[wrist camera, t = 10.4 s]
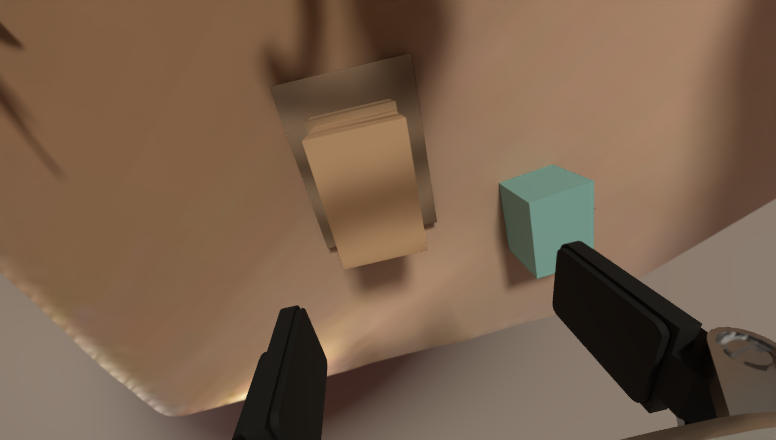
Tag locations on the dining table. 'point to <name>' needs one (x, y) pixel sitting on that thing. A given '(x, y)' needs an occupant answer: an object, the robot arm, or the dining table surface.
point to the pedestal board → (350, 95)
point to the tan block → (368, 187)
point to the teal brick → (547, 215)
